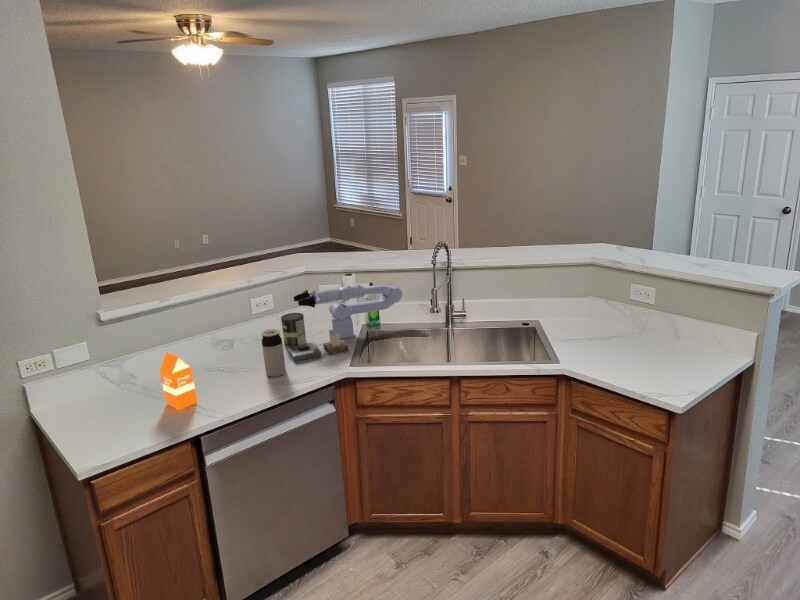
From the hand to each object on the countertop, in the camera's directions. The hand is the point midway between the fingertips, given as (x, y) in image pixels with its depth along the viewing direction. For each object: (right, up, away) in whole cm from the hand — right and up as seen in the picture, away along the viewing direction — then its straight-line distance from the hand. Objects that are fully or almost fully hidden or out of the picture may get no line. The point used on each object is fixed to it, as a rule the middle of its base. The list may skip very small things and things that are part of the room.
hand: (296, 300), depth 259 cm
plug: (+18, -22, -3) cm, 29 cm away
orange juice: (-34, -39, -45) cm, 69 cm away
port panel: (+5, -24, -7) cm, 26 cm away
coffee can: (-1, -21, +6) cm, 22 cm away
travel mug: (-4, -30, -24) cm, 38 cm away
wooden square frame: (+18, -22, -3) cm, 29 cm away
